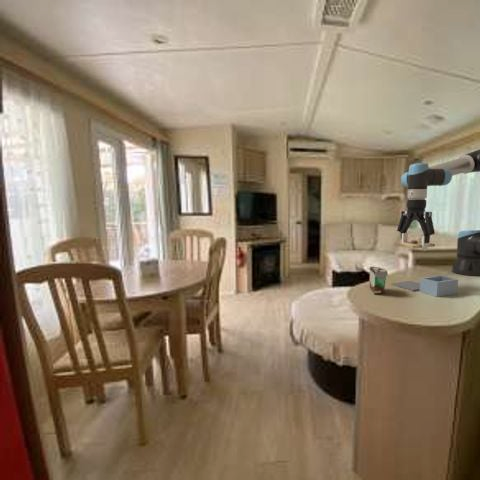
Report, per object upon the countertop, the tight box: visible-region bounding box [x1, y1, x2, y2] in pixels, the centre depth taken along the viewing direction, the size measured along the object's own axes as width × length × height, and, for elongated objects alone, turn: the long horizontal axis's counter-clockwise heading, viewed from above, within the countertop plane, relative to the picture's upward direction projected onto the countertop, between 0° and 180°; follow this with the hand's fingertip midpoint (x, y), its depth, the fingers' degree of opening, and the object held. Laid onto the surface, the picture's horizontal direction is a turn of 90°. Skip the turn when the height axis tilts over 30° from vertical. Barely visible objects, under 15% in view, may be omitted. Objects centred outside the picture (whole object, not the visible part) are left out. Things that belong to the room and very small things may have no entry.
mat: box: [390, 280, 420, 292], centre depth 145 cm, size 12×12×1 cm
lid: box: [393, 239, 436, 249], centre depth 142 cm, size 13×10×2 cm
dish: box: [419, 275, 459, 298], centre depth 135 cm, size 12×8×6 cm, turn 110°
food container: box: [369, 266, 389, 296], centre depth 137 cm, size 12×6×10 cm, turn 168°
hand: (414, 248), depth 143 cm, fingers closed on lid, 10 cm apart
